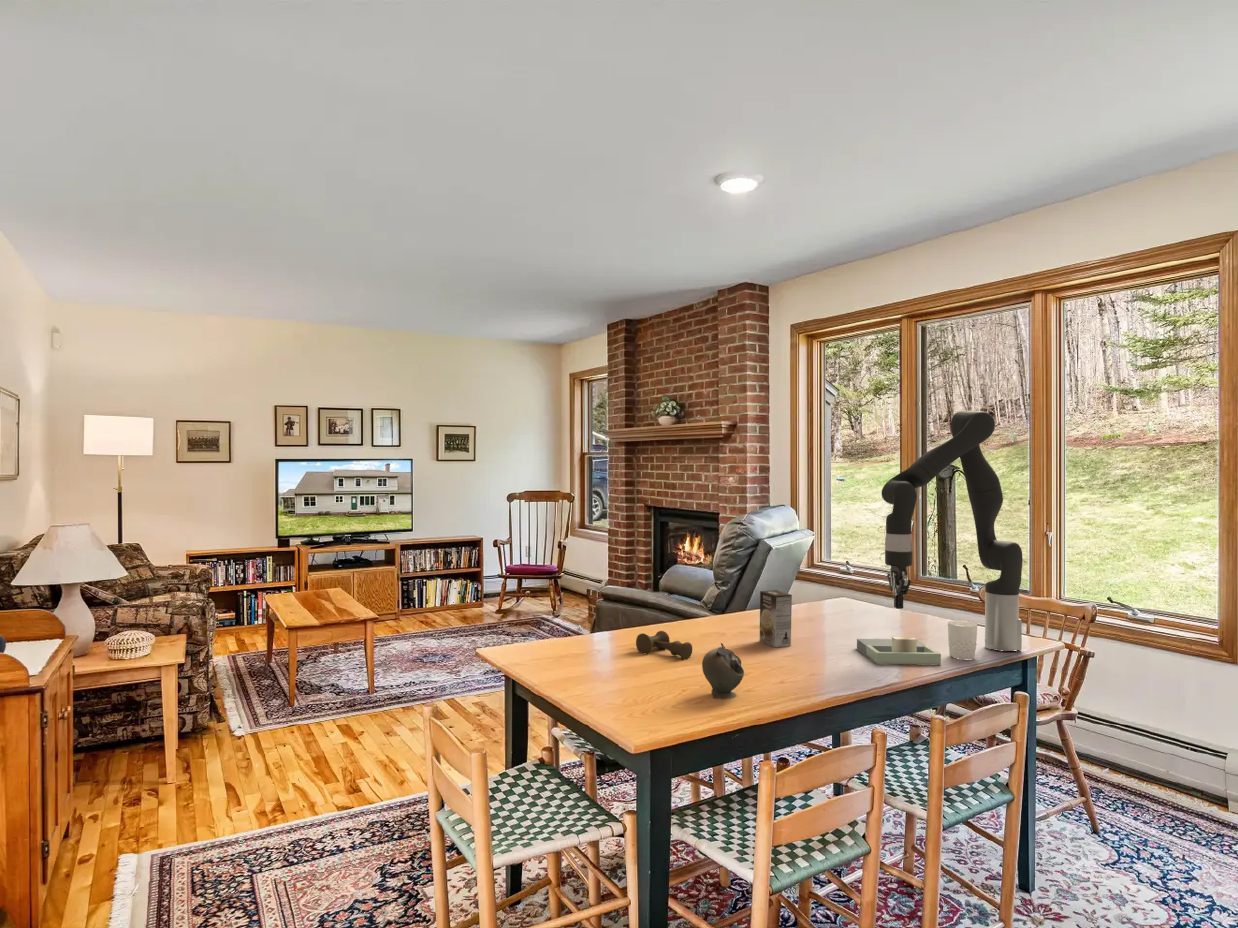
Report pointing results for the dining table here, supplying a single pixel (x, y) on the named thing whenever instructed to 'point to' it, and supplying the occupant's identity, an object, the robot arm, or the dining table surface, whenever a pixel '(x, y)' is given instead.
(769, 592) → the coffee box
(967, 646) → the white cup
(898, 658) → the box
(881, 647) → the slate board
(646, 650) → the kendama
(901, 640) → the pale wooden block
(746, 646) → the dining table surface
